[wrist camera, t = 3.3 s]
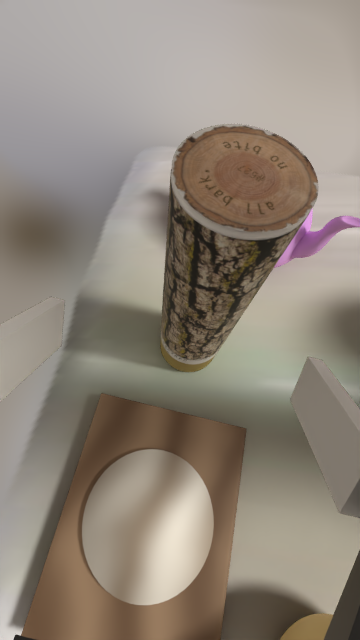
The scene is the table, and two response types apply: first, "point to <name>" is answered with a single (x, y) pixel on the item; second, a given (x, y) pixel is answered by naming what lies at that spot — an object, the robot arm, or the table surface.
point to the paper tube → (226, 232)
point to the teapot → (314, 237)
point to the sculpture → (309, 628)
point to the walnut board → (143, 530)
